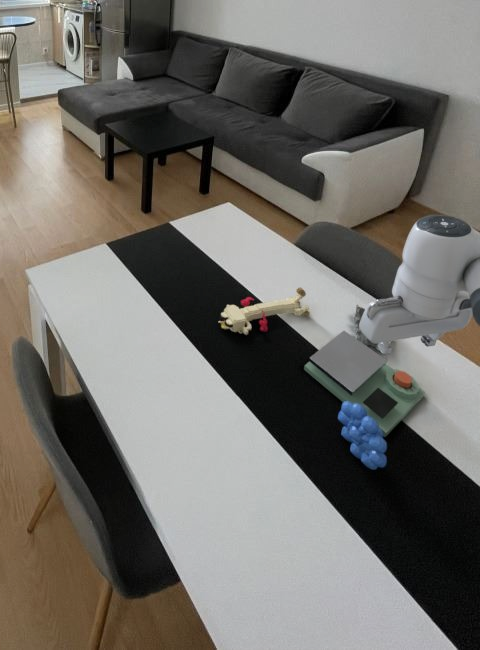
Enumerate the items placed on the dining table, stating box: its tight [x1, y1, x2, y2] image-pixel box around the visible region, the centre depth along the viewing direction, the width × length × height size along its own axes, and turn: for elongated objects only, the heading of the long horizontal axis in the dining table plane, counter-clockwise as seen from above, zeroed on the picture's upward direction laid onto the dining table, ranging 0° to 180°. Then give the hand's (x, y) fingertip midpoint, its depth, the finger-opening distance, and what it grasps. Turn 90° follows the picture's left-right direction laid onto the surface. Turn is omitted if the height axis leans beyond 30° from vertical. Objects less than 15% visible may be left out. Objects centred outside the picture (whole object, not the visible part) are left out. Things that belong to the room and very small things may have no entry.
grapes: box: [337, 401, 388, 471], centre depth 83 cm, size 12×7×12 cm, turn 3°
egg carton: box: [353, 304, 392, 352], centre depth 109 cm, size 11×8×4 cm
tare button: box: [394, 370, 412, 389], centre depth 95 cm, size 3×3×2 cm
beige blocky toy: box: [217, 287, 310, 336], centre depth 115 cm, size 10×9×25 cm
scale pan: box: [308, 330, 398, 419], centre depth 97 cm, size 16×14×1 cm
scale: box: [303, 361, 426, 438], centre depth 98 cm, size 18×16×3 cm
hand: (405, 347), depth 85 cm, fingers open, 8 cm apart
